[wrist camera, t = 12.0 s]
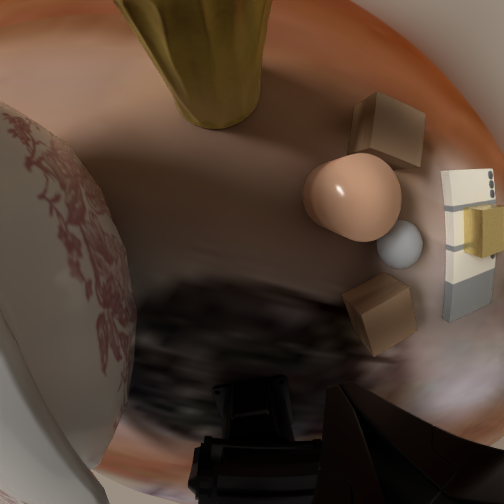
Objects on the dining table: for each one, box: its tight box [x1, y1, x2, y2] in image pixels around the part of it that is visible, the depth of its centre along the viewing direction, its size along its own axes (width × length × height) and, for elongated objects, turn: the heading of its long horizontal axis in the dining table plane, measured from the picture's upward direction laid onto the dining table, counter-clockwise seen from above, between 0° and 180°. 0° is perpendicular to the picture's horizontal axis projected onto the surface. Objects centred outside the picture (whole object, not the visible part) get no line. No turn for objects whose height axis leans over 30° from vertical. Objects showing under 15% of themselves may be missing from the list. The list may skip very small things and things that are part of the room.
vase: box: [113, 0, 272, 129], centre depth 10 cm, size 6×6×14 cm
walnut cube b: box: [347, 92, 425, 170], centre depth 17 cm, size 4×4×4 cm
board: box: [441, 169, 496, 323], centre depth 20 cm, size 14×7×1 cm, turn 10°
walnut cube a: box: [342, 272, 418, 357], centre depth 19 cm, size 4×4×4 cm
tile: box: [463, 203, 504, 258], centre depth 18 cm, size 4×4×2 cm
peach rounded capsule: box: [303, 153, 402, 242], centre depth 17 cm, size 5×5×5 cm
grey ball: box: [377, 220, 423, 269], centre depth 18 cm, size 4×4×4 cm
